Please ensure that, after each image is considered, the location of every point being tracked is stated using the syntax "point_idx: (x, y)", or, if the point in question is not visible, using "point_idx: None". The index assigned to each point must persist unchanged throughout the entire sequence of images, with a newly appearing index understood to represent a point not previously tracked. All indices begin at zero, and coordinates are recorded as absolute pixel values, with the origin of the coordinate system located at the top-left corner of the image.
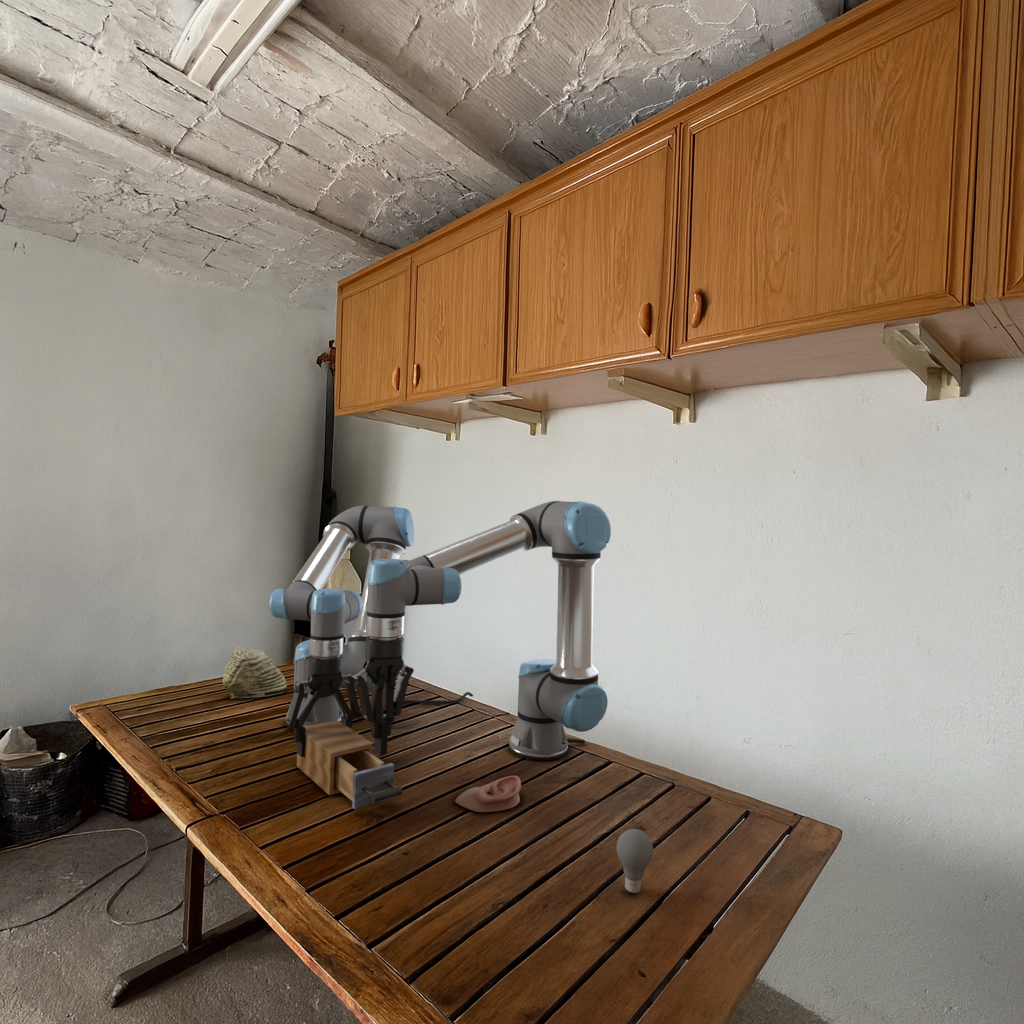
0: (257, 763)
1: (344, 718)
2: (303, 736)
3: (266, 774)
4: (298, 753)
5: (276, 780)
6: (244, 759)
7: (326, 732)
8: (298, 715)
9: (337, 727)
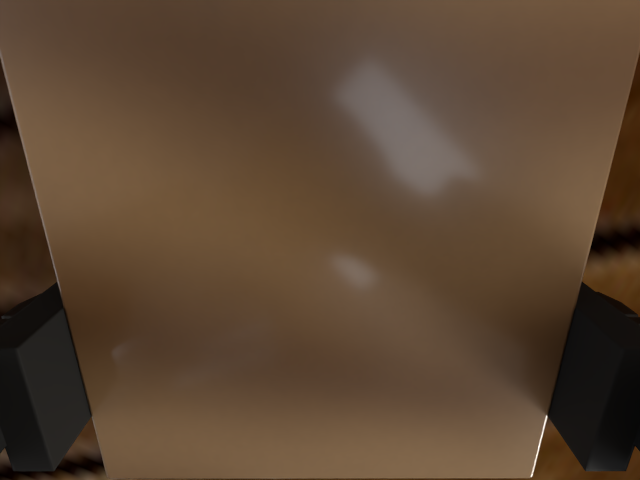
0: None
1: (25, 405)
2: (585, 294)
3: (600, 282)
4: None
5: (607, 185)
6: (579, 470)
7: (360, 216)
8: None
9: (175, 300)
